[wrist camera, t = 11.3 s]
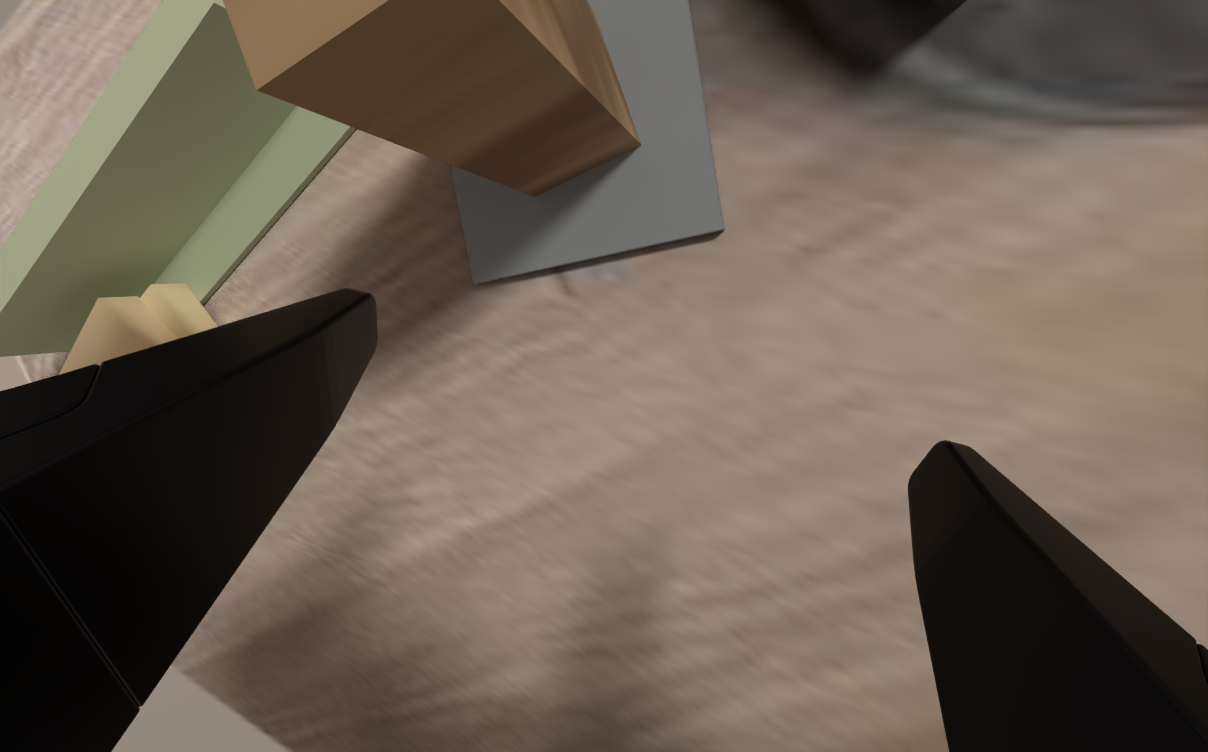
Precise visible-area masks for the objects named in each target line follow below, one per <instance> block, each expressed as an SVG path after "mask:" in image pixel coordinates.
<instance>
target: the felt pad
mask: <svg viewBox="0 0 1208 752" xmlns="http://www.w3.org/2000/svg"><path fill="white" fill-rule="evenodd" d="M587 2H588V3H589V4H590V6H591V7H592V9H593V10H594V13H595V16H596V19H597V22H598V24H599V27H600V30H601V33H602V36H603V38H604V41H605V44H606V47H607V50H608V52H609V55H610V58H611V61H612V64H613V66H614V69H615V72H616V75H617V78H618V80H619V83H620V86H621V89H622V92H623V94H624V97H625V100H626V103H627V106H628V108H629V111H630V114H631V117H632V120H633V123H634V125H635V128H636V131H637V134H638V137H639V139H640V142H641V145H640V146H638V147H636V148H634V149H632V150H630V151H628V152H626V153H624V154H622V155H620V156H618V157H616V158H613V159H611V160H609V161H607V162H605V163H603V164H601V165H599V166H597V167H595V168H593V169H591V170H589V171H587V172H585V173H583V174H581V175H579V176H577V177H574V178H572V179H570V180H568V181H566V182H564V183H562V184H560V185H558V186H556V187H554V188H552V189H550V190H548V191H546V192H544V193H542V194H540V195H537V196H535V197H533V196H531V195H528V194H526V193H523V192H520V191H518V190H515V189H513V188H510V187H507V186H505V185H502V184H500V183H497V182H494V181H492V180H489V179H486V178H484V177H481V176H479V175H476V174H473V173H471V172H468V171H466V170H463V169H460V168H458V167H455V166H453V165H450V167H451V172H452V178H453V183H454V188H455V193H456V198H457V203H458V209H459V214H460V219H461V224H462V229H463V234H464V240H465V245H466V250H467V255H468V260H469V265H470V270H471V276H472V281H473V284H481V283H486V282H490V281H495V280H499V279H504V278H509V277H513V276H518V275H522V274H527V273H531V272H536V271H541V270H545V269H550V268H554V267H559V266H564V265H568V264H573V263H577V262H582V261H587V260H591V259H596V258H600V257H605V256H610V255H614V254H619V253H623V252H628V251H632V250H637V249H642V248H646V247H651V246H655V245H660V244H665V243H669V242H674V241H678V240H683V239H688V238H692V237H697V236H701V235H706V234H710V233H715V232H720V231H724V223H723V217H722V211H721V204H720V198H719V191H718V185H717V179H716V172H715V166H714V159H713V153H712V147H711V140H710V134H709V128H708V121H707V115H706V108H705V102H704V96H703V89H702V83H701V76H700V70H699V64H698V57H697V51H696V44H695V38H694V32H693V25H692V19H691V12H690V6H689V0H587Z"/></svg>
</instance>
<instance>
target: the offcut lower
mask: <svg viewBox="0 0 1208 752" xmlns="http://www.w3.org/2000/svg"><path fill="white" fill-rule="evenodd" d="M140 299H141V300H142V301H143V302H144V303H145V304H146V306H147V307H148V308H149V309H150V310H151V311H152V312H153V313H154V314H155V315H156V316H157V317H158V318H159V319H160V320H161V321H162V322H163V323H164V324H165V326H166V327H167V328H168V329H169V330H170V331H171V332H172V333H173V334H174V335H175V336H176V337H177V338H178V339H179V338H182V337H185V336H189V335H192V334H195V333H199V332H202V331H205V330H208V329H212V328H215V327H218V326H217V325H216V324H215V322H214V321H213V320H212V318H211V317H210V315H209V314H208V313H207V311H206V310H205V309H204V307H203V306H202V305H201V303H200V302H199V300H198V299H197V298H196V296H195V295H194V294H193V292H192V291H191V290H190V288H189V287H188V286H187V284H186V283H177V284H151V285H150V286H149V287H148V288H147V290H146V291H145V292H144V293H143V295H142V296H141V297H140Z"/></svg>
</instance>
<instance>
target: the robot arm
mask: <svg viewBox="0 0 1208 752" xmlns="http://www.w3.org/2000/svg"><path fill="white" fill-rule="evenodd" d="M377 340H378V333H377V313H376V301H375V298H374V297H373V296H372V295H371V294H370V293H366V292H363V291H359V290H355V289H351V288H344V289H340V290H337V291H334V292H331V293H327V294H324V295H321V296H317V297H314V298H311V299H307V300H304V301H301V302H298V303H294V304H291V305H288V306H284V307H281V308H278V309H274V310H271V311H268V312H265V313H261V314H258V315H255V316H251V317H248V318H245V319H241V320H238V321H235V322H232V323H228V324H225V325H222V326H218V327H215V328H212V329H208V330H205V331H202V332H199V333H195V334H192V335H189V336H185V337H182V338H179V339H175V340H172V341H169V342H166V343H162V344H159V345H156V346H152V347H149V348H146V349H142V350H139V351H136V352H133V353H129V354H126V355H123V356H119V357H116V358H113V359H109V360H106V361H103V362H102V363H101V365H100V366H99V365H98V364H92V365H89V366H86V367H83V368H79V369H76V370H73V371H70V372H66V373H63V374H60V375H56V376H53V377H49V378H46V379H42V380H39V381H35V382H32V383H28V384H25V385H22V386H18V387H15V388H11V389H7V390H3V391H0V752H111V751H112V750H113V748H114V747H115V746H116V744H117V743H118V741H119V740H120V738H121V737H122V735H123V734H124V733H125V731H126V730H127V728H128V727H129V725H130V724H131V722H132V721H133V720H134V718H135V717H136V715H137V714H138V712H139V709H140V708H139V707H140V706H142V705H143V704H144V703H145V701H146V700H147V699H148V697H149V696H150V694H151V693H152V691H153V690H154V688H155V687H156V686H157V684H158V683H159V681H160V680H161V678H162V677H163V675H164V674H165V672H166V671H167V670H168V668H169V667H170V665H171V664H172V662H173V661H174V660H175V658H176V657H177V655H178V654H179V652H180V651H181V649H182V648H183V647H184V645H185V644H186V642H187V641H188V639H189V638H190V636H191V635H192V634H193V632H194V631H195V629H196V628H197V626H198V625H199V623H200V622H201V621H202V619H203V618H204V616H205V615H206V613H207V612H208V610H209V609H210V608H211V606H212V605H213V603H214V602H215V600H216V599H217V597H218V596H219V595H220V593H221V592H222V590H223V589H224V587H225V586H226V584H227V583H228V582H229V580H230V579H231V577H232V576H233V574H234V573H235V571H236V570H237V569H238V567H239V566H240V564H241V563H242V561H243V560H244V558H245V557H246V556H247V554H248V553H249V551H250V550H251V548H252V547H253V545H254V544H255V542H256V541H257V540H258V538H259V537H260V535H261V534H262V532H263V531H264V529H265V528H266V527H267V525H268V524H269V522H270V521H271V519H272V518H273V516H274V515H275V514H276V512H277V511H278V509H279V508H280V506H281V505H282V503H283V502H284V501H285V499H286V498H287V496H288V495H289V493H290V492H291V490H292V489H293V488H294V486H295V485H296V483H297V482H298V480H299V479H300V477H301V476H302V475H303V473H304V472H305V470H306V469H307V467H308V466H309V464H310V463H311V462H312V460H313V459H314V457H315V456H316V454H317V453H318V451H319V450H320V449H321V447H322V446H323V444H324V443H325V441H326V440H327V438H328V437H329V435H330V434H331V432H332V431H333V429H334V428H335V426H336V424H337V422H338V420H339V419H340V417H341V415H342V413H343V411H344V409H345V407H346V406H347V404H348V402H349V400H350V398H351V396H352V394H353V392H354V390H355V388H356V386H357V385H358V383H359V381H360V379H361V377H362V375H363V373H364V371H365V369H366V367H367V365H368V363H369V362H370V360H371V358H372V356H373V354H374V352H375V349H376V346H377ZM908 498H909V511H910V524H911V537H912V549H913V562H914V570H915V578H916V584H917V590H918V595H919V600H920V605H921V610H922V616H923V621H924V626H925V631H926V636H927V641H928V646H929V651H930V656H931V662H932V667H933V672H934V677H935V682H936V687H937V692H938V697H939V702H940V708H941V713H942V718H943V723H944V728H945V733H946V738H947V743H948V748H949V752H1208V649H1206V648H1205V647H1204V646H1203V645H1201V644H1197V643H1196V640H1195V639H1194V638H1193V637H1192V636H1191V635H1190V634H1189V633H1188V632H1186V631H1185V630H1184V629H1183V628H1182V627H1181V626H1179V625H1178V624H1177V623H1176V622H1175V621H1174V620H1172V619H1171V618H1170V617H1169V616H1168V615H1167V614H1165V613H1164V612H1163V611H1162V610H1161V609H1159V608H1158V607H1157V606H1156V605H1155V604H1154V603H1152V602H1151V601H1150V600H1149V599H1148V598H1147V597H1145V596H1144V595H1143V594H1142V593H1141V592H1140V591H1138V590H1137V589H1136V588H1135V587H1134V586H1133V585H1131V584H1130V583H1129V582H1128V581H1127V580H1126V579H1124V578H1123V577H1122V576H1121V575H1120V574H1119V573H1117V572H1116V571H1115V570H1114V569H1113V568H1112V567H1110V566H1109V565H1108V564H1107V563H1106V562H1105V561H1103V560H1102V559H1101V558H1100V557H1099V556H1097V555H1096V554H1095V553H1094V552H1093V551H1092V550H1090V549H1089V548H1088V547H1087V546H1086V545H1085V544H1083V543H1082V542H1081V541H1080V540H1079V539H1078V538H1076V537H1075V536H1074V535H1073V534H1072V533H1071V532H1069V531H1068V530H1067V529H1066V528H1065V527H1064V526H1062V525H1061V524H1060V523H1059V522H1058V521H1057V520H1055V519H1054V518H1053V517H1052V516H1051V515H1050V514H1048V513H1047V512H1046V511H1045V510H1044V509H1043V508H1041V507H1040V506H1039V505H1038V504H1037V503H1036V502H1034V501H1033V500H1032V499H1031V498H1030V497H1028V496H1027V495H1026V494H1025V493H1024V492H1023V491H1021V490H1020V489H1019V488H1018V487H1017V486H1016V485H1014V484H1013V483H1012V482H1011V481H1010V480H1009V479H1007V478H1006V477H1005V476H1004V475H1003V474H1002V473H1000V472H999V471H998V470H997V469H996V468H995V467H993V466H992V465H991V464H990V463H989V462H988V461H986V460H985V459H984V458H983V457H982V456H981V455H979V454H978V453H977V452H976V451H975V450H974V449H972V448H971V447H969V446H967V445H963V444H959V443H955V442H951V441H947V440H944V441H940V442H938V443H936V444H935V445H934V446H933V448H932V449H931V450H930V451H929V453H928V454H927V455H926V456H925V458H924V459H923V460H922V461H921V463H920V464H919V465H918V467H917V468H916V469H915V470H914V472H913V473H912V475H911V477H910V479H909V483H908Z"/></svg>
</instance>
